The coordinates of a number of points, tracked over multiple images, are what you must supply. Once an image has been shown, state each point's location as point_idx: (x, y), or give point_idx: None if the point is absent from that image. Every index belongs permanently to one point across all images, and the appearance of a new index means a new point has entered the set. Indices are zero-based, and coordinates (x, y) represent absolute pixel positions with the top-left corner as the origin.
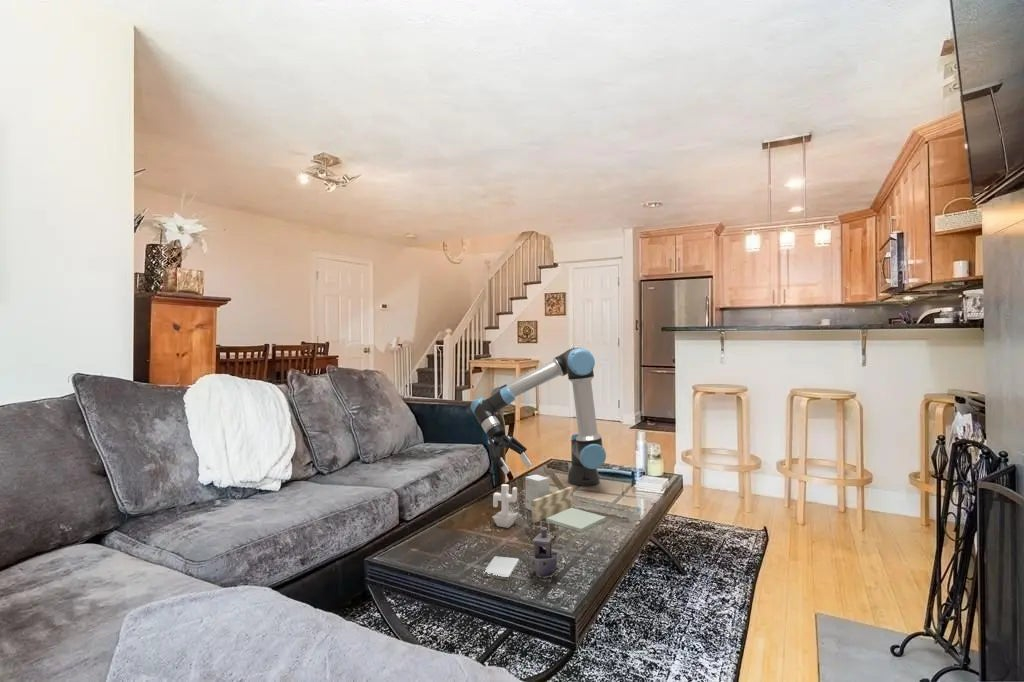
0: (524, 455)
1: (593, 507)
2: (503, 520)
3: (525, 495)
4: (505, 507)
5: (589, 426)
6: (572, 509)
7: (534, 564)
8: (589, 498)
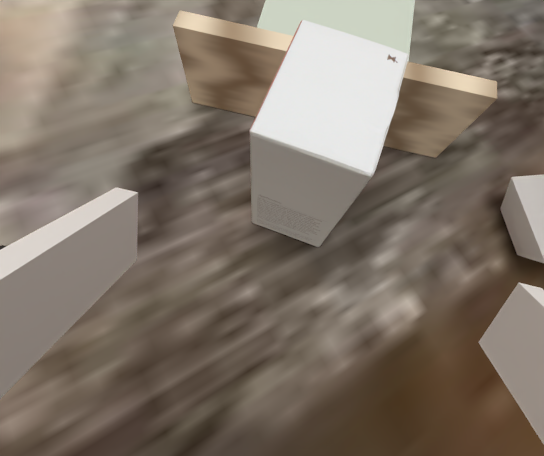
0: (13, 279)
1: (169, 31)
2: None
3: (333, 227)
4: None
5: None
6: None
7: None
8: (59, 68)
